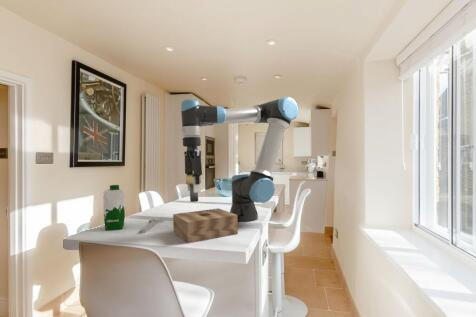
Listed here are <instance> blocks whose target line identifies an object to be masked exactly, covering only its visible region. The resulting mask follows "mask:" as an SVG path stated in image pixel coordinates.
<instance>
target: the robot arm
mask: <svg viewBox="0 0 476 317" xmlns="http://www.w3.org/2000/svg"><path fill="white" fill-rule="evenodd" d="M180 109H181V110H180V114H181V129H180V131H181V132H182V146H183V147H184V148H185V147H186V150H185V151H183V154H184V174H186V175H193V176H192V177H193V188H194V193H196V192H198V193H201V183H200V175H201V176H202V175H203V168H202V151H201V150H199V149H198V147H200V146H201V145H202V144H201V143H202V141H201V137H200V136H201V128H202V127H207V126H208V127H209V126H217V125H219V126H220V125H228V124H230V125H231V124H241V123H250V122H251V123H254V124H267V125H268V126H267V129H266V133H265V136H264V140H263V142H262V145H261V148H260V152H259V156H258V158H257V161H256V163H255V168H253V169H252V170H251V171H250V173H244V174H243V173H241V174H235V175H233V176H232V177H231V182H230V184H231V206H230V210H229V212H230V213H233V214H236V215H237V220H238V222H240V223H241V222H252V221H256V220H258V219H259V214H258V211H257V207H256V204H255V203H258V204H259V203H260V204H265V203H268V202H269V201H270V200H271V199H273V196H274V195H275V192H276V186H275V184H274V179H275V178H274V176H273V171H274V168H275V164H276V161H277V158H278V155H279V151H280V148H281V145H282V142H283V138H284V135H285V132H286V130H287V129H289V128H290V126H291V123H292V121H294V120H295V119H297V118H298V115H299V106H298V104H297V102H296V101H295V99H294V98H292V97H289V96H285V97H284V96H283V97H280V98H278V99H274V100H270V101H268V102H264V103H261V104H254V105H253V106H251V107H235V108H224V107H223V106H219V105H216V106H215V105H200V101H199V100H198V99H194V98H193V99H190V98H188V99H184V100H182V101H181V106H180ZM186 175H185V176H186ZM187 192H190V184H187Z"/></svg>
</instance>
